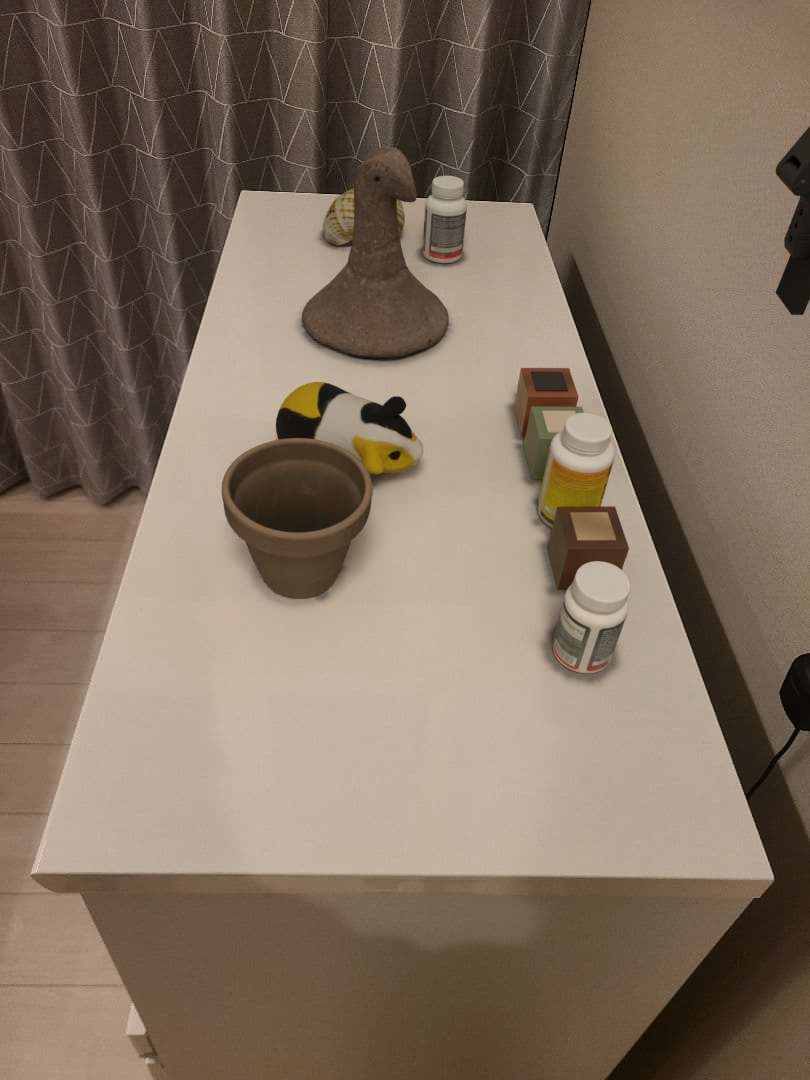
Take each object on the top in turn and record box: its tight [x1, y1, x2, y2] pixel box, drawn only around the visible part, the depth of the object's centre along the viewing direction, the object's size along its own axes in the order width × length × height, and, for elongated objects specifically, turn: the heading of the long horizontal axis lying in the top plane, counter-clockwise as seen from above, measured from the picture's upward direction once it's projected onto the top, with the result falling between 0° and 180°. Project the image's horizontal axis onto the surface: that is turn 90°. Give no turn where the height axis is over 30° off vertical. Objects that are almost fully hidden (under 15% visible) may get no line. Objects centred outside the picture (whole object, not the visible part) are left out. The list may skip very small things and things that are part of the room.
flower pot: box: [221, 438, 374, 599], centre depth 67 cm, size 12×11×10 cm
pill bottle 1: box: [422, 175, 468, 264], centre depth 108 cm, size 5×5×10 cm
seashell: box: [322, 187, 406, 246], centre depth 112 cm, size 10×10×10 cm
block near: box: [547, 505, 630, 591], centre depth 70 cm, size 5×5×5 cm
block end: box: [513, 367, 579, 438], centre depth 85 cm, size 5×5×5 cm
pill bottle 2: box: [551, 561, 632, 674], centre depth 63 cm, size 5×5×8 cm
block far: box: [523, 406, 585, 480], centre depth 80 cm, size 5×5×5 cm
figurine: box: [275, 381, 424, 475], centre depth 78 cm, size 8×15×8 cm, turn 64°
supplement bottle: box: [537, 412, 616, 529], centre depth 73 cm, size 6×6×10 cm
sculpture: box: [301, 145, 450, 359], centre depth 92 cm, size 17×17×20 cm
